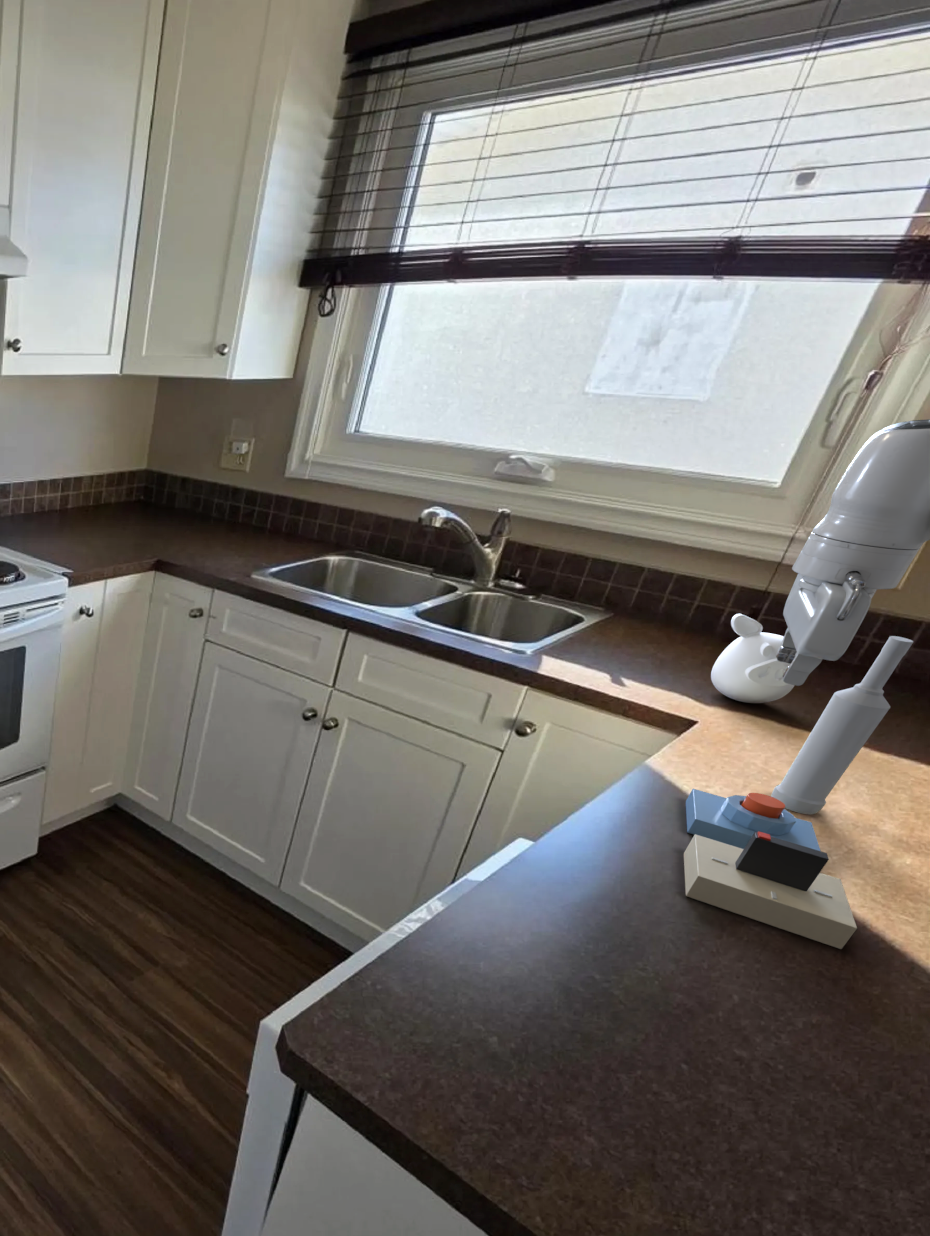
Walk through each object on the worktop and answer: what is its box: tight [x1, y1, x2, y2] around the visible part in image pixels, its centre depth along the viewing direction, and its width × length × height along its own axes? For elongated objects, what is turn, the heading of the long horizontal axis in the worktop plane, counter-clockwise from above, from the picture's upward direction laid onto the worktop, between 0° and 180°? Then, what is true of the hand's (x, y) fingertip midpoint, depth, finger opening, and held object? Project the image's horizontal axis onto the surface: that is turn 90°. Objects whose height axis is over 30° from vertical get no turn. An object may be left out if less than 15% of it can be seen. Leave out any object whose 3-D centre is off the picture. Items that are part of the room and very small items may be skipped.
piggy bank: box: [710, 613, 796, 704], centre depth 140 cm, size 12×12×15 cm
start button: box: [741, 792, 786, 819], centre depth 103 cm, size 4×4×2 cm
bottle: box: [770, 635, 914, 815], centre depth 106 cm, size 5×5×25 cm
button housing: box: [685, 788, 821, 851], centre depth 104 cm, size 12×10×4 cm
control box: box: [683, 834, 858, 950], centre depth 92 cm, size 13×11×3 cm
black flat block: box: [735, 831, 830, 891], centre depth 90 cm, size 6×2×5 cm, turn 51°
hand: (787, 671), depth 100 cm, fingers open, 8 cm apart
